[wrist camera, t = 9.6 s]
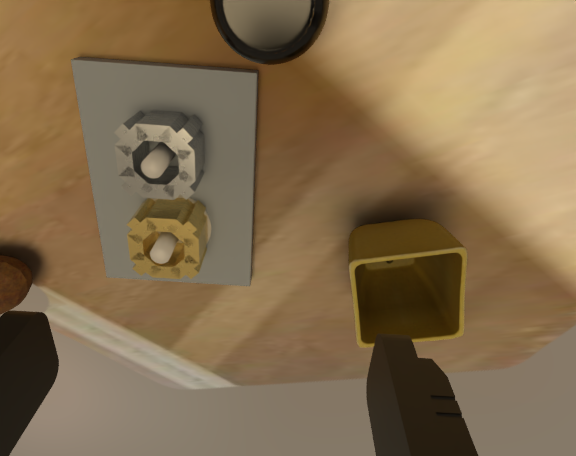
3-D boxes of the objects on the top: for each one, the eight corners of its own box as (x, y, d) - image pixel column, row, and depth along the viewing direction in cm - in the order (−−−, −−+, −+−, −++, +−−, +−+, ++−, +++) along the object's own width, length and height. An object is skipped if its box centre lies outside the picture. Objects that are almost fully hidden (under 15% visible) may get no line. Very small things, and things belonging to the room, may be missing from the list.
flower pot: (337, 208, 40) (348, 262, 32) (433, 195, 39) (468, 247, 31) (346, 285, 44) (357, 349, 36) (433, 275, 43) (464, 338, 35)
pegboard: (258, 70, 34) (251, 85, 28) (251, 277, 44) (245, 320, 38) (79, 56, 34) (35, 70, 28) (112, 268, 43) (84, 310, 38)
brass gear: (206, 199, 38) (197, 221, 34) (208, 255, 40) (200, 280, 37) (140, 195, 38) (124, 216, 34) (146, 251, 40) (132, 276, 37)
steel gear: (203, 113, 34) (193, 127, 31) (205, 181, 37) (196, 201, 33) (130, 108, 34) (111, 121, 30) (137, 176, 37) (121, 196, 33)
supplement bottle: (270, 68, 34) (259, 103, 23) (208, -7, 31) (165, -6, 21) (339, 5, 32) (362, 12, 21) (279, -81, 29) (271, -122, 19)
